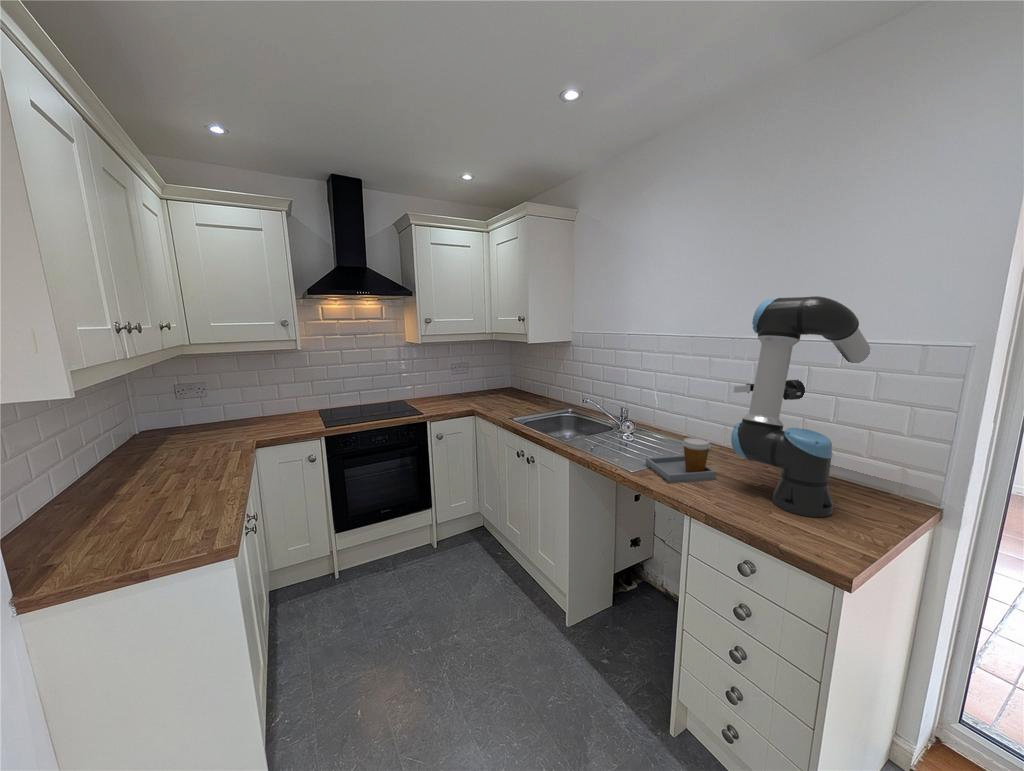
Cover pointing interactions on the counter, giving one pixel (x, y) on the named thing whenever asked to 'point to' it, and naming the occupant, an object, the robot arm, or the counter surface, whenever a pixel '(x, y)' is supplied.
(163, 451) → the counter surface
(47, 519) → the counter surface
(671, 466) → the tray
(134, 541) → the counter surface
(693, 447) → the disposable coffee cup
